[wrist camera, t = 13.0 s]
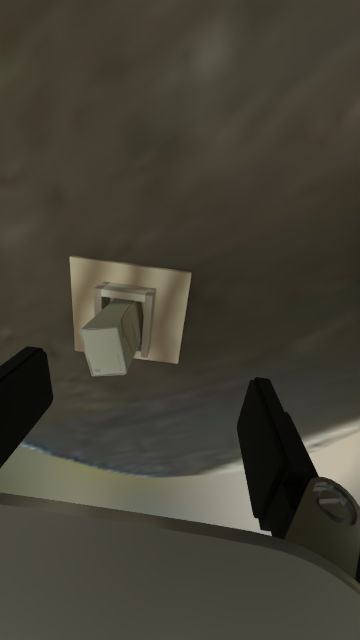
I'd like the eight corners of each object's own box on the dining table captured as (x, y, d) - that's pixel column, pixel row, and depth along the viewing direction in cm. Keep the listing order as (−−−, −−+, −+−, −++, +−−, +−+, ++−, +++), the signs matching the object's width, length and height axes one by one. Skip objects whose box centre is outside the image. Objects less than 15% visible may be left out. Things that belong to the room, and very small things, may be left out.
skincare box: (146, 331, 37) (128, 376, 26) (119, 332, 38) (91, 378, 27) (140, 294, 35) (118, 327, 24) (112, 296, 35) (77, 329, 24)
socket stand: (191, 271, 35) (192, 279, 30) (178, 359, 41) (176, 377, 36) (73, 255, 34) (55, 260, 29) (78, 347, 40) (63, 363, 36)
